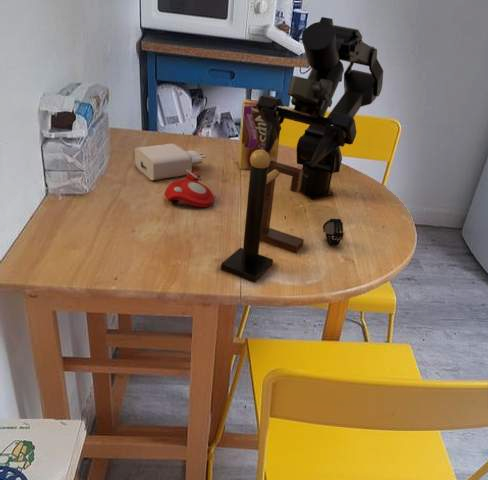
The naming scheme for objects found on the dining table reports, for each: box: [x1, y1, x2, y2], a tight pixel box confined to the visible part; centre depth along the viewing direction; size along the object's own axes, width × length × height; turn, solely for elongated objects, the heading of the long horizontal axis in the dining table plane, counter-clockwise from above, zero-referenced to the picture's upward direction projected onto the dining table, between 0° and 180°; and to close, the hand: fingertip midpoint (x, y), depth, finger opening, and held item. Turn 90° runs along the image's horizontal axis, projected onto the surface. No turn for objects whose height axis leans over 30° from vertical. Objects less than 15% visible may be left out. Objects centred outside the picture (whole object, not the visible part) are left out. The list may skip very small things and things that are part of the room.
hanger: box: [260, 160, 305, 254], centre depth 88 cm, size 3×9×14 cm, turn 64°
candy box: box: [237, 98, 282, 170], centre depth 116 cm, size 9×4×15 cm, turn 99°
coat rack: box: [220, 150, 280, 283], centre depth 79 cm, size 10×6×20 cm, turn 154°
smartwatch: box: [322, 218, 345, 247], centre depth 92 cm, size 4×5×5 cm
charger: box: [134, 143, 207, 181], centre depth 112 cm, size 5×9×15 cm
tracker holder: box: [164, 170, 215, 208], centre depth 102 cm, size 12×4×10 cm
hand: (288, 159), depth 91 cm, fingers open, 9 cm apart
